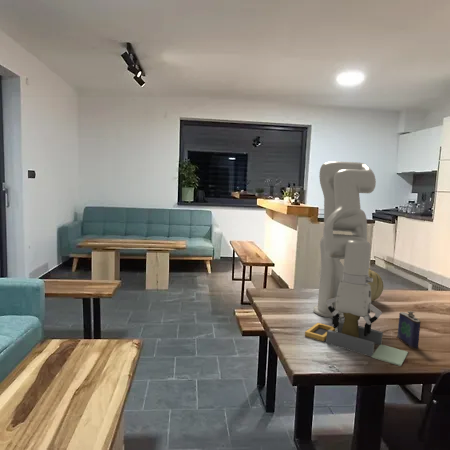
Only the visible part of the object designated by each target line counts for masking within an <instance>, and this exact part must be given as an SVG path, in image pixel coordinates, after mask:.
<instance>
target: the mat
mask: <svg viewBox="0 0 450 450" xmlns="http://www.w3.org/2000/svg"><path fill="white" fill-rule="evenodd" d="M408 354H409V351H407V350H404V349H399V348H396V347H393V346H388V345H385V344H380V345H378V347H377V348H376V349H375V350H374V352H373V355H372V357H371V358H372V359H376V360H379V361H382V362H384V363H385V362H386V363H388V364H391V365H395V366H399V367H402V365H403V363H404V361H405V359H406V357H407V356H408Z"/></svg>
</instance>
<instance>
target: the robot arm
mask: <svg viewBox="0 0 450 450" xmlns="http://www.w3.org/2000/svg"><path fill="white" fill-rule="evenodd" d="M318 177H319V184H320V187H321V191H322V195H323V203H324V204H323V206H324V207H323V222H324V226H323V234H322V235H323V236H322V237H321V239H320V243H319V248H320V249H319V250H320V251H319V252H320V272H319V273H320V274H319V283H318V284H319V286H318V299H317V305H315V306H314V307H313V312H314V314H316V315H318V316H321V317H324V318H328V319H329V318H331V319H332V323H331V324H332V325H333V326H332V327H333V328H336V329H338V326H339V321H340V319H343V318H344V316H343V313H351V314H353V315H356V316H360V318H363V320H364V321H365V324H364V326H363V327H364V336H367V335H368V334H370V332H371V329H372V323H374V322H376V321H377V320H378V319H379V318H380V316H381V315H382V314H383V312H382V311H381V310H380V309H379V308H377V307H376V306H375V305H374V304H372V302H371V287H370V284H368V282H373V278H370V277H369V275H368V272H369V268H370V261H371V260H370V259H371V248H372V246H371V242H370V241H368V221H367V214H366V213H365V211H364V210H363V209H362V208H361V200H360V198H361V197H360V194H372V193H373V192H374V190H375V188H376V184H377V180H376V176H375V173H374V172H373V170H372V169H371V168H370V167H369V166H368V165H367V164H366V163H364V162H354V161H337V160H336V161H327V162H324V163H322V165H321V166H320V170H319V176H318ZM334 232H343V233H346V232H347V233H351V234H342V233H334ZM340 260H344V261H343V263H342V262H341V261H340ZM372 312H373V313H374V315H373V316H371V315H370V314H371V313H372Z"/></svg>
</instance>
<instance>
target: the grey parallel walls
mask: <svg viewBox="0 0 450 450" xmlns="http://www.w3.org/2000/svg"><path fill="white" fill-rule="evenodd" d="M343 324H344V321H342V320H339V326H338V327H337V331H332V330H328V331H327V339H326V340H325V341H326V342H325V343H326V344H328V345H331V346H334V347H338V348H342V349H345V350H348V351H351V352H355V353H358V354H361V355H365V356H368V357H371V358H372V355H373V354H374V352H375V345H378V346H380V344H382V343H383V335H384V334H383V333H384V332H383V331H380V330H377V329H373V328H371V332H370V334H368V335H367V336H364V327H365V326H361V325H358V328H359V338H357V337H354V336H350V335H346V334H343V333H342V328H343ZM382 345H383V344H382Z"/></svg>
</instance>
